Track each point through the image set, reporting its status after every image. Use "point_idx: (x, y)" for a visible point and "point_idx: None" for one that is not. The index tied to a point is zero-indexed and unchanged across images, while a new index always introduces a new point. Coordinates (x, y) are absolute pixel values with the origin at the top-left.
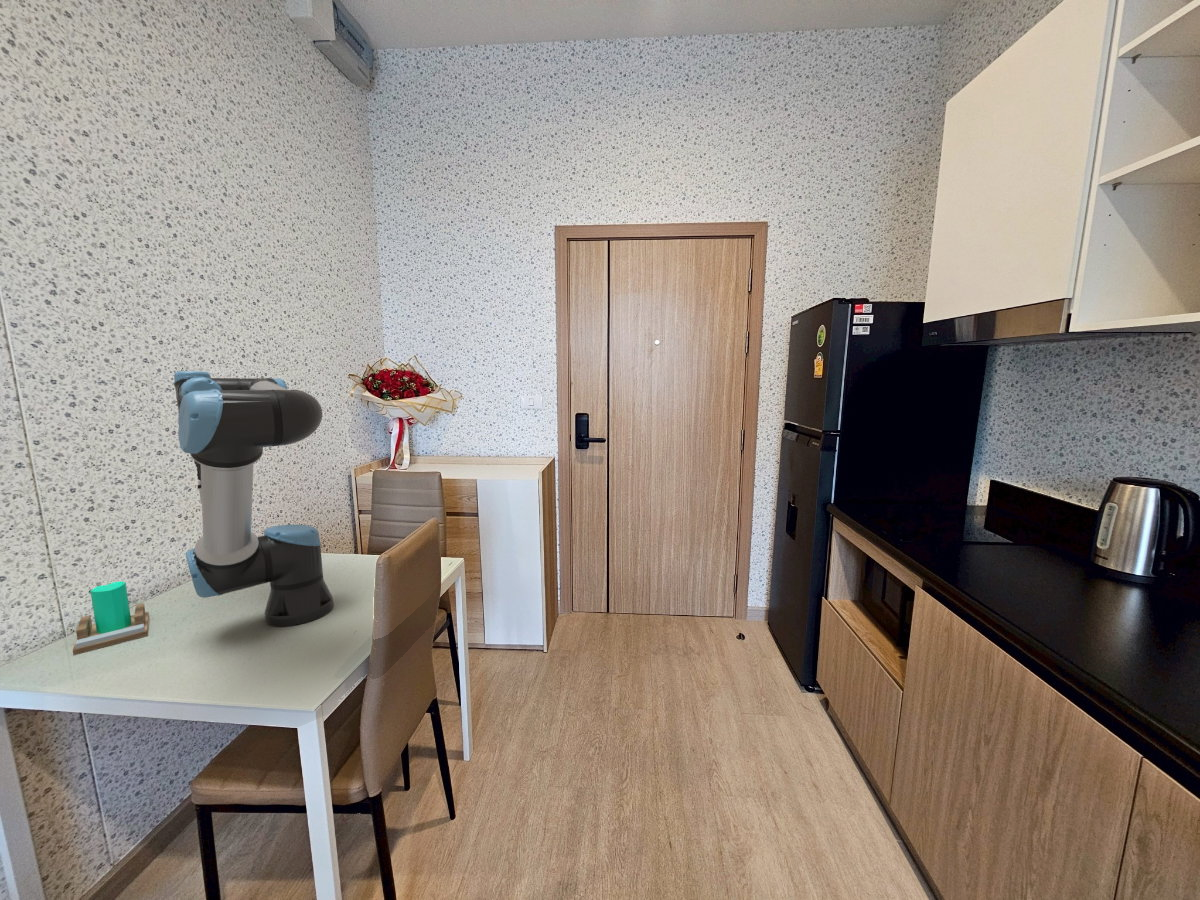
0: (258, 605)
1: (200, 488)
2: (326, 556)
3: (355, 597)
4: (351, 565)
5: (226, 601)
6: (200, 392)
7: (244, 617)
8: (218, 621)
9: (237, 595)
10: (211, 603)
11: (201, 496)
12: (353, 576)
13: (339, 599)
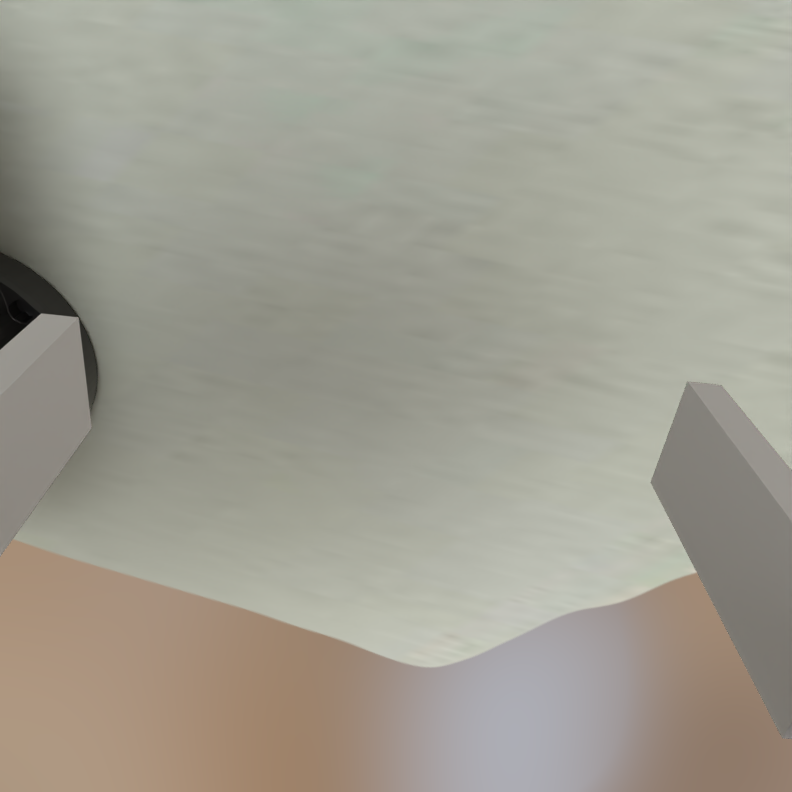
0: (184, 264)
1: (775, 527)
2: (590, 592)
3: None
4: (382, 610)
5: (350, 177)
6: None
7: (74, 190)
8: (102, 97)
9: (394, 229)
10: (380, 119)
11: (719, 448)
12: (246, 577)
13: None
